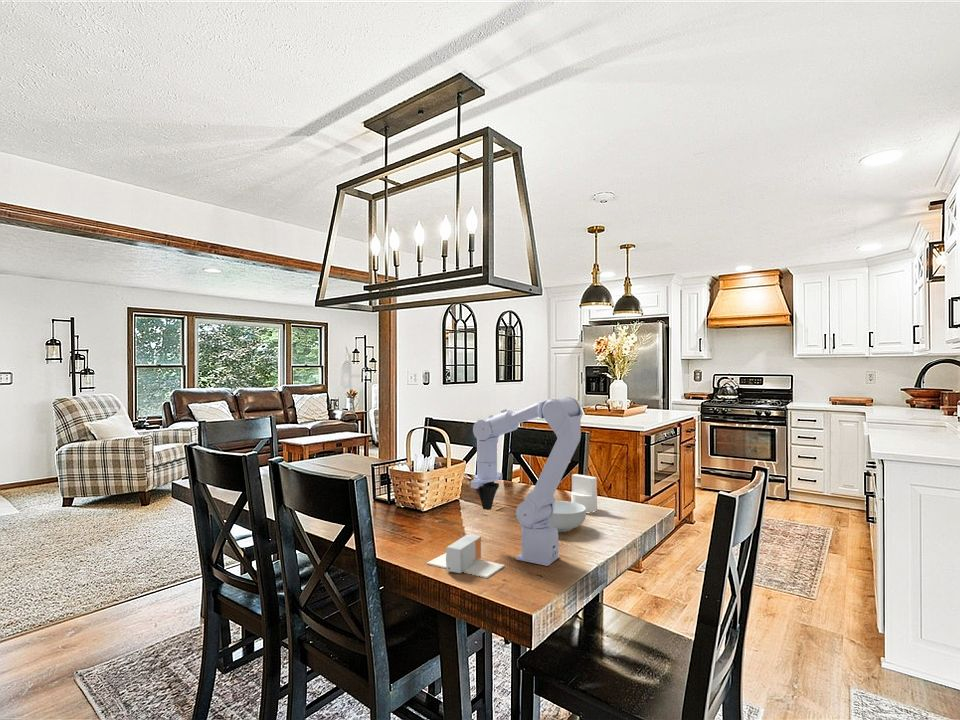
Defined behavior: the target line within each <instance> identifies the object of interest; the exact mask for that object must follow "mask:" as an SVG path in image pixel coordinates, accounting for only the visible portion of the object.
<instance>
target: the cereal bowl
mask: <svg viewBox="0 0 960 720" xmlns="http://www.w3.org/2000/svg"><path fill="white" fill-rule="evenodd" d="M586 516H587V515H586V507H585V506H583V505H581V504H578V503H574V502H571V501H567V500H555V503H554V506H553V514H552V516H551V517H550V518H549V526H551V527H553V528H556V529H557V531H558V533H568V532H570V531H572V530H573V529H575V528H578V527H580V526H581V525H582V524H583V523H584V522H585V520H586ZM567 531H568V532H567Z"/></svg>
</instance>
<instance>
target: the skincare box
mask: <svg viewBox="0 0 960 720" xmlns="http://www.w3.org/2000/svg"><path fill="white" fill-rule="evenodd" d="M445 549H446V550H445V551H446V552H445V553H446V569H445V570H446V572H451V573H455V574H462V572H463V571H464V570H466V569H467V568H468V567H470V566H471V565H472V564H474V563H475V562H477V561H478V560H482V536H481V535H476V534H470V533H468V534H465V535H464V536H461V538H459V539H457V540H456V541H454V542H453V543H451V544H449V545H448V546H446V548H445Z"/></svg>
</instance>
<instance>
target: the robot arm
mask: <svg viewBox="0 0 960 720" xmlns="http://www.w3.org/2000/svg"><path fill="white" fill-rule="evenodd" d="M583 414H584V412H583V410H582V408H581V405H580V402H578V400H577V399H575V397H574V398H573V397H571V396H568V397H564V398H549V399H547V400H543V401H541V400H540V401H539V402H536V403H534V404H531V405H529V406H527V407H524V408H522V409H520V410H517V411H516V412H515V411H513V410H511V409H505V408H504V409H502V410H501V411H500V413H499V414H498V413H497V414H495V415H494V414H493V415H489V416H488V418H487V419H482V418H481V419H478V420H477V421H475V422H474V423H473V426H472V433H473V436H474V437H475V439H476V442H477V443H476V474H475V475H474V476H473V479H472V480H470V489H476V491H477V493H478V496H479V499H480V502H481V507H482V509H483V510H486V511H489V510H492V508H493V503H494V500H495V499H494V498H495V496H496V493H497V491H498V489H499V487H500V484H499V483H498V482H497V481H502V480H503V472H498V443H499V438H500V436H502V435H505V434H508V433H510V432H511V433H512V432H513V431H516V430H517V429H518V428H519V426H520V424H521V423H524V422H528V421H530V420H531V421H532V420H533V419H537V418H539V419H543V420H545V422H547V425H548V426H549V427H550V429H551V430H552V431H553V432H554V434H555V435H556V438H557V439H556V441H555V443H554V445H553V447H552V449H551V451H550V453H549V456H547V457H548V458H547V459H546V462H545V464H544V466H543V468H542V470H541V472H540V474H539V477H538V480H537V481H536V483H535V485H534V487H533V488H532V490H531V491H530V492H529V493H528V494H527V495H526V496H525V497H524V499H523V501H522V502H521V503H519V504H518V505H517V507H516V511H515V517H516V519H517V521H518V523H519V524H520V527H521V552H520V554H518V555H517V556H515V558H514V559H515V560H517V561H522V562H527V563H531V564H536V565H542V566H546V567H547V566H550V565H551V564H552V563H554V562H555V561H557V560H558V559H559V558H560V554H559V532H558V531H557V529H556V528H553V527H551V526H549V518H550V517H551V516H552V514H553V506H554V503H555V501H556V497H555V496H554V495H555V493H556V491H557V489H558V486H559V484H560V483H561V480H562V479H563V476H564V475H565V473H566V470H567V469H568V466H569V464H570V462H571V460H572V458H573V456H574V454H575V452H576V450H577V447H578V446H579V443H580V441H581V438H582V437H581V436H582V435H581V434H582V433H581V429H582V428H581V419H582V417H583Z"/></svg>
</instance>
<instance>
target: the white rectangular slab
mask: <svg viewBox="0 0 960 720" xmlns="http://www.w3.org/2000/svg"><path fill="white" fill-rule="evenodd" d="M426 564H427V565H429V566H432V567H437V568H442V569H445V570H446V552H445V553H444V554H441V555H440V556H439V555H438V557H435V558H433V559H431V560H429V561H428V562H426ZM505 565H506V564H501V563H498V562H497V563H496V562H493V561H488V560H484V559H483V560H482V559H479V560H478V561H477V562H475V563H474V564H472V565H471V566H470V567H468V568H467V569H466V570H464V571H463V572H464V573H463V574H466V573H467V574H468V575H470V574H472V575H471V576H475V575H476V576H475V577H479V576H480V578H484V579H488V578H490V577H491V576H493V575H494V574H496V573H497V572H499V571H500V570H502V569H504V568H505ZM467 574H466V575H467Z"/></svg>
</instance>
